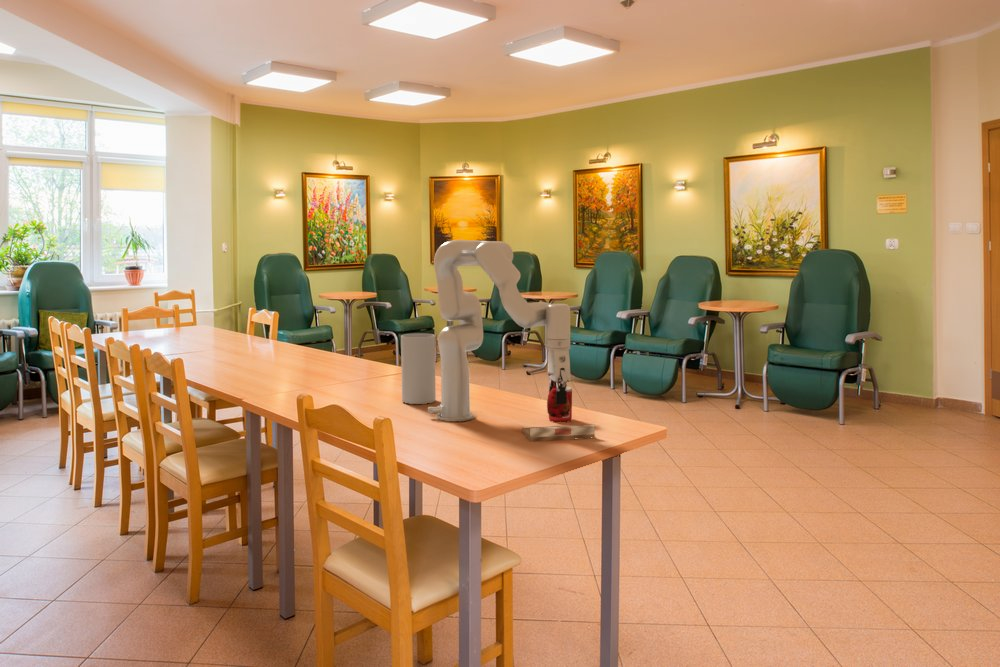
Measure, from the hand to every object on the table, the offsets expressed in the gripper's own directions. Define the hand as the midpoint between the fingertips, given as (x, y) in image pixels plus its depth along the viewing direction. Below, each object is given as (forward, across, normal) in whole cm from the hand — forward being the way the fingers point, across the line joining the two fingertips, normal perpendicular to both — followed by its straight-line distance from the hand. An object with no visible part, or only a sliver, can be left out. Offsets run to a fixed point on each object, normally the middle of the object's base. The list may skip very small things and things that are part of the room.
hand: (557, 400), depth 231 cm
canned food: (+11, +18, -6) cm, 22 cm away
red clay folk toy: (+5, 0, 0) cm, 5 cm away
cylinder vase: (+10, +57, +38) cm, 70 cm away
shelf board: (+11, 0, 0) cm, 11 cm away
